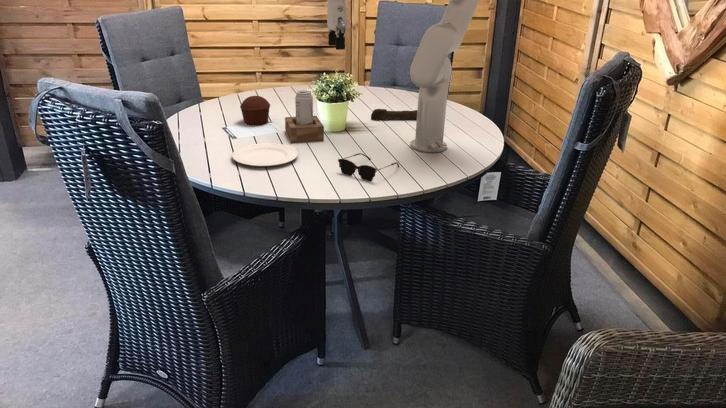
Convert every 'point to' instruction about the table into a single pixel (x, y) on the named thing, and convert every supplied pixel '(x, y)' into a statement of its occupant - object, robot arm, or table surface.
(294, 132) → the holder block
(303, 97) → the energy drink can
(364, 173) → the sunglasses
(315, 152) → the table surface
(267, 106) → the muffin
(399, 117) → the hand tool
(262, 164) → the plate
